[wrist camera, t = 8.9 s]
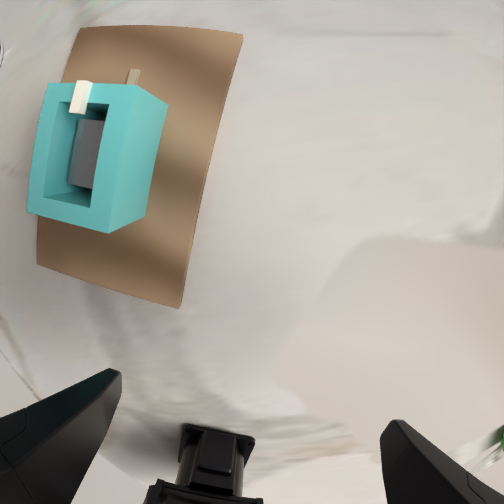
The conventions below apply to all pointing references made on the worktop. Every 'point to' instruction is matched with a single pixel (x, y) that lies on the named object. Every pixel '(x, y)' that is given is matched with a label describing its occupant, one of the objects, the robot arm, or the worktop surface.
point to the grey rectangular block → (85, 153)
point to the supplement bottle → (1, 52)
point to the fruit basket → (502, 441)
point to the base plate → (167, 159)
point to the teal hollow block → (109, 158)
